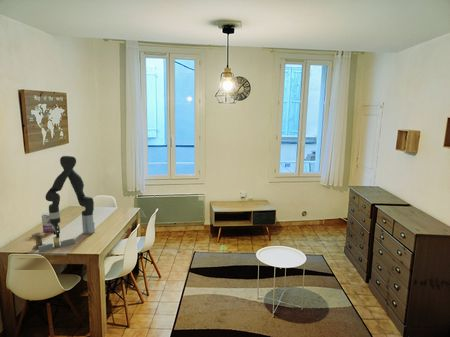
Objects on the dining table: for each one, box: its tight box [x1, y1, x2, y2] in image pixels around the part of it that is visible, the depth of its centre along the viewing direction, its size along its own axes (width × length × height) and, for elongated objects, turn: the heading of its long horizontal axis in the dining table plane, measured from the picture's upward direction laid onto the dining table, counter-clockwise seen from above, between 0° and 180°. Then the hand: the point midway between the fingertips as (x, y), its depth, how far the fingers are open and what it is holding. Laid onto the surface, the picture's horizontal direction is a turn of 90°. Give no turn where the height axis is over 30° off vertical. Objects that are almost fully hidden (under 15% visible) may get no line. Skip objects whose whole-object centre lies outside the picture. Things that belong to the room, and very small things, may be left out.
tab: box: [53, 236, 61, 249], centre depth 260 cm, size 4×4×8 cm
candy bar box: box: [41, 213, 53, 233], centre depth 292 cm, size 11×5×16 cm, turn 99°
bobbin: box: [31, 231, 46, 251], centre depth 259 cm, size 9×9×11 cm
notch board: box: [37, 237, 75, 253], centre depth 260 cm, size 26×2×4 cm, turn 130°
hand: (56, 236), depth 259 cm, fingers open, 8 cm apart
